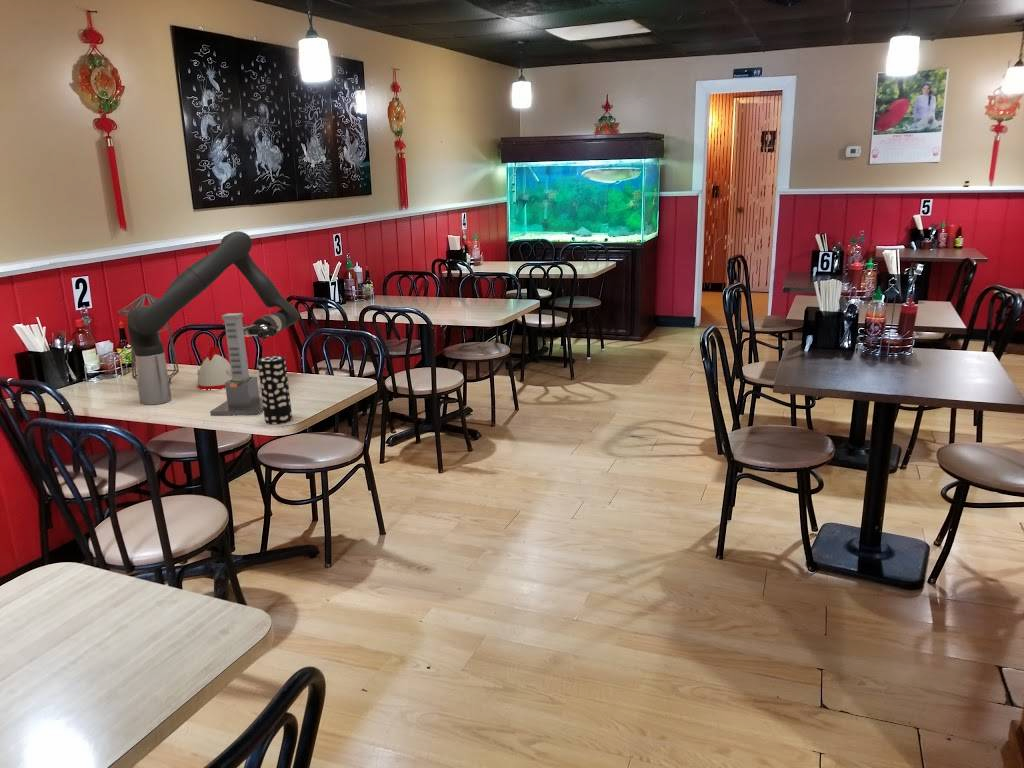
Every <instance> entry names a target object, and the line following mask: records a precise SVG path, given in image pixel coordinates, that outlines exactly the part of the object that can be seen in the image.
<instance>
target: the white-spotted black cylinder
mask: <svg viewBox="0 0 1024 768" xmlns="http://www.w3.org/2000/svg"><path fill="white" fill-rule="evenodd" d="M286 361H287V360H286V356H284V355H268V356H264V357H260V358H257V367H258V376H259V383H260V384H259V385H260V393H261V397H262V402H263V410H264V412H263V417H264V423H265V422H266V423H265V424H267V423H269V424H268V425H282V424H286V423H289V422H291V421H292V420H293V412H292V403H291V395H290V388H289V378H288V370H287V369H288V368H287V362H286Z"/></svg>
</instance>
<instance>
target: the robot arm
mask: <svg viewBox="0 0 1024 768" xmlns="http://www.w3.org/2000/svg"><path fill="white" fill-rule="evenodd" d="M252 246H253V241H252V238H251V237H250V236H249V234H247V233H245V232H243V231H239V230H238V231H233V232H230V233H228V234H226V235H224V236H223V237H222V239H221V241H220V244H219V246H217V247H216V248H215V249H214V250H213V251H212V252H211V253H209V254H207V255H205V256H204V257H202V258H200V259H199V260H198V261H195V262H194V263H192V264H190V266H188V267H187V268H186V269H184V270H183V271H182V272H181V273H179V274H178V275H177V276H176V277H175V278H174V280H173V281H171V283H170V285H169V286H168V288H167V289H166V291H165V292H164V293H163V295H161V297H159V298H158V300H156V301H155V302H154V303H153V304H151V305H150V304H149V305H147V306H148V307H136V308H135V307H133V308H134V309H132V310H130V311H129V314H127V315H128V316H126V324H127V331H128V335H129V339H130V346H131V345H132V347H133V349H134V355H135V365H136V371H137V374H138V376H137V377H136V378H135V379H136V380H135V381H136V386H137V391H138V398H139V403H140V404H141V405H142V404H143V405H147V406H148V405H153V404H154V405H159V404H160V403H161V404H164V403H168V402H170V401H172V399H173V398H172V392H171V387H170V385H171V384H169V378H168V375H169V374H168V372H169V371H167V370H168V367H167V362H166V354H165V348H164V344H163V343H162V341H160V340H161V338H160V339H159V337H158V332H159V331H161V329H163V328H162V327H165V325H167V324H168V321H169V322H170V320H171V319H172V318H173V317H174V316H175V315H176V314H177V313H178V312H179V311H180V310H182V309H183V308H185V307H186V306H187V305H188V304H190V302H192V301H193V300H194V299H196V297H198V296H200V294H202V293H203V292H204V291H205V290H206V289H208V288H209V287H210V286H211V285H212V283H214V282H215V281H216V280H217V279H218V278H219V277H220V276H221V275H222V274H223V273H224V272H225V271H226V270H227V269H228V268H229V267H231V266H232V265H234V266H235V267H236V269H237V270H239V272H241V274H242V276H244V278H245V279H246V281H248V283H249V284H250V286H251V287H252V288H253V289H254V292H255V293H256V294H257V296H258V298H260V300H261V301H262V303H263V304H264V306H265V307H266V308H274V307H278V308H279V310H277V311H275V312H272V313H269V314H265V315H263V316H261V317H259V318H258V317H257V319H255V320H254V321H253V322H252V324H251V325H249V326H244V325H243V332H244V337H246V338H250V337H258V338H259V339H262V340H264V339H265V340H266V339H269V338H271V337H275V336H276V335H278V334H279V333H280V332H282V330H284V329H287V328H289V327H290V326H292V325H294V324H296V323H298V322H299V321H300V312H299V311H298V309H297V308H296V307H295V306H294V305H293V304H292V303H290V302H289V301H288V300H287V299H286V298H285V297H284V296H283V295H282V294H281V293H280V291H279V290H278V288H277V287H276V285H275V284H274V283H273V281H272V280H271V279H270V278H269V277H268V276H267V274H266V273H264V271H262V269H260V267H258V265H257V264H256V263H255V261H254V259H252V257H251V255H250V251H252ZM166 323H167V324H166Z"/></svg>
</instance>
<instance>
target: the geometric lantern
mask: <svg viewBox="0 0 1024 768" xmlns="http://www.w3.org/2000/svg"><path fill="white" fill-rule="evenodd" d="M146 299H147V300H148V303H149V305H144V303H145V301H146ZM158 299H159V298H158V297H155V296H153V295H151V294H148V293H145V294H144V293H143V294H142V295H141V296H139V297H138V298H136V299H135V300H134V301H132V302H131V303H129V304H128V305H126V306H125V307H123V308H121V309H120V310H118V314H122V315H123V316H126V317H127V316H128V314H129V312H130V311H131V310H132V309H134V308H136V307H146V308H147V307H148V306H150V305H151V304H153V303H154V302H155V301H157V300H158ZM129 307H130V308H129ZM127 308H129V309H128V310H127ZM165 325H167V326H163V327H162V328H161V329H162V330H159V331H158V337H159V339H160V341H161V335H160V333H161V332H165V331H168V334H169V342H170V348H171V349H170V350H171V355H172V356H171V357H172V361H173V369H167V372H172V373H170V374H168V379H169V382H170V383H171V384H172V383H173V382H172V379H173V378H174V377H175V376H176V375H177V374H178V373H180V370H179V365H178V361H177V355H176V350H175V346H174V340H173V336H172V330H171V325H170V320H169V321H168V322H167V323H166V324H165ZM163 328H165V329H163ZM161 342H162V341H161ZM130 348H131V351H130V352H131V354H130V356H131V373H132V375H131V377H132V379H134V380H135V381H137V380H136V377H137V376H138V373H137V365H136V358H135V353H134V349H133V347H132V345H131V344H130ZM170 383H169V385H171V384H170Z"/></svg>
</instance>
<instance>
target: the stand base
mask: <svg viewBox="0 0 1024 768" xmlns="http://www.w3.org/2000/svg"><path fill="white" fill-rule="evenodd" d="M249 378H250V379H249V380H248V381H246V382H233V380H232V379H230V380H229V381H227V382H225V387H226V389H225V394H226V401H224V402H222V403H221V404H219V405H218V406H217V407H215V408H213V409H212V410H210V411H209V412H210V417H211V416H212V417H219V416H220V417H221V416H222V417H224V416H225V417H228V416H229V417H231V416H232V417H233V415H235V416H237V415H258V414H259V415H261V414H262V413H264V412H263V411H264V410H263V402H262V396H261V397H260V391H259V383H258V376H249ZM261 412H262V413H261ZM260 413H261V414H260ZM259 415H258V416H259ZM235 416H234V417H235Z"/></svg>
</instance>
